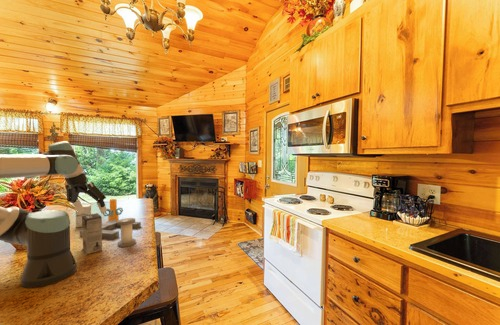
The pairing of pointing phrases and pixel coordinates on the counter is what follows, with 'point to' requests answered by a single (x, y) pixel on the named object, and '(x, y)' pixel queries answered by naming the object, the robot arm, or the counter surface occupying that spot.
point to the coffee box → (92, 233)
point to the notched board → (111, 225)
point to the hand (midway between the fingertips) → (93, 212)
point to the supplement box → (79, 216)
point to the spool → (126, 232)
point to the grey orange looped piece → (113, 211)
